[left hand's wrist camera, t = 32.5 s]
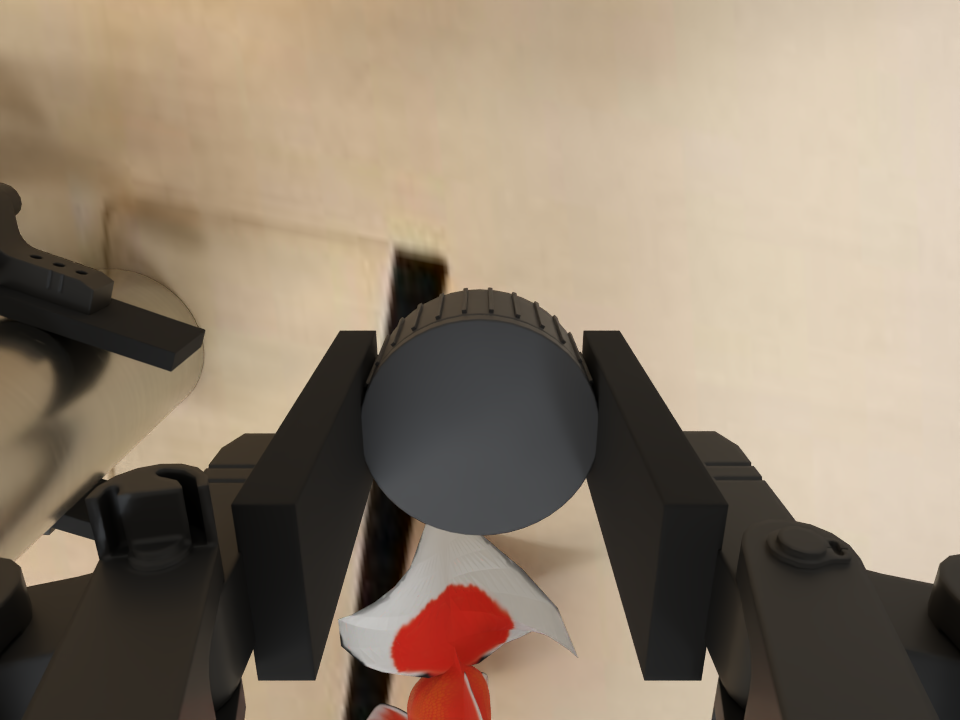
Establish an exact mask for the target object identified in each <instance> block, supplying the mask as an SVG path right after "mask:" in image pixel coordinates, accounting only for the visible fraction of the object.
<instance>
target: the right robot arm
mask: <svg viewBox="0 0 960 720" xmlns="http://www.w3.org/2000/svg"><path fill="white" fill-rule="evenodd" d="M21 205H22V203H21V198H20V196H19V194H18V193H17V191H16V190H15V189H13V188H12V187H11V186H9V185H6V184H4V183H0V315H1V316H4V317H7V318H10V319H13V320H16V321H19V322H22V323H25V324H28V325H31V326H34V327H37V328H40V329H43V330H46V331H49V332H52V333H55V334H58V335H61V336H64V337H67V338H70V339H73V340H76V341H79V342H82V343H85V344H88V345H91V346H94V347H97V348H100V349H103V350H106V351H109V352H112V353H115V354H119V355H122V356H125V357H128V358H131V359H134V360H137V361H140V362H143V363H146V364H149V365H152V366H155V367H158V368H161V369H164V370H167V371H170V372H172V371H173V370H174V369H175V368H176V367H178V366H179V365H180V364H181V363H182V362H184V361H185V360H186V359H187V358H189V357H190V356H191V355H192V354H193V353H195V352H196V351H197V350H198V349H199V348H201V346H202V342H203V338H204V334H205V330H204V329H201V328H198V327H195V326H193V325H190V324H187V323H184V322H181V321H178V320H175V319H172V318H169V317H166V316H163V315H160V314H157V313H154V312H151V311H148V310H146V309H143V308H140V307H137V306H134V305H131V304H128V303H125V302H122V301H119V300H116V299H113V298H111V296H112V291H113V286H114V281H113V280H112V279H111V278H109V277H108V276H107V275H105V274H104V273H103V272H101V271H98V270H96V269H93V268H90V267H85V266H84V265H81V264H78V263H74V262H72V261H69V260H67V259H64V258H61V257H58V256H55V255H52V254H49V253H46V252H43V251H40V250H38V249H35V248H33V247H31V246H30V245H29V244H27V243H26V242H25V240H24V239H23V238H22V236H21V235H20V232H19V230H18V226H17V221H16V217H15V215H17V214H18V213H19V211H20V210H21ZM106 481H107V480H104V479H100V480H99V481H98V482H97V483H96V484H95V485H94V486H93V487H92V488H91V489H90V490H89V491H88V492H87V493H86V494H85V495H84V496H83V497H82V498H81V499H80V500H79V501H78V502H76V503H75V504H74V505H73V506H72V507H71V508H70V509H69V510H68V511H67V512H66V513H65V514H64V515H63V516H62V517H61V518H60V519H59V520H58V521H57V522H56V523H55V524H53V525H52V526H51V527H50V528H49V529H48V530H47V531H46V532H45V533H44V534H43V535H50V534H51V533H52V532H53V531H54V530H55V529H59V530H62V531H65V532H69V533H72V534H75V535H79V536H82V537H86V538H89V539H92V540H95V539H94V535H93V531H92V527H91V523H90V519H89V515H88V511H87V507H86V503H85V498H86V497H87V496H88V495H89V494H90V493H91V492H92V491H93V490H94V489H95V488H96V487H97V486H99V485H101V484H102V483H104V482H106Z"/></svg>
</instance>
